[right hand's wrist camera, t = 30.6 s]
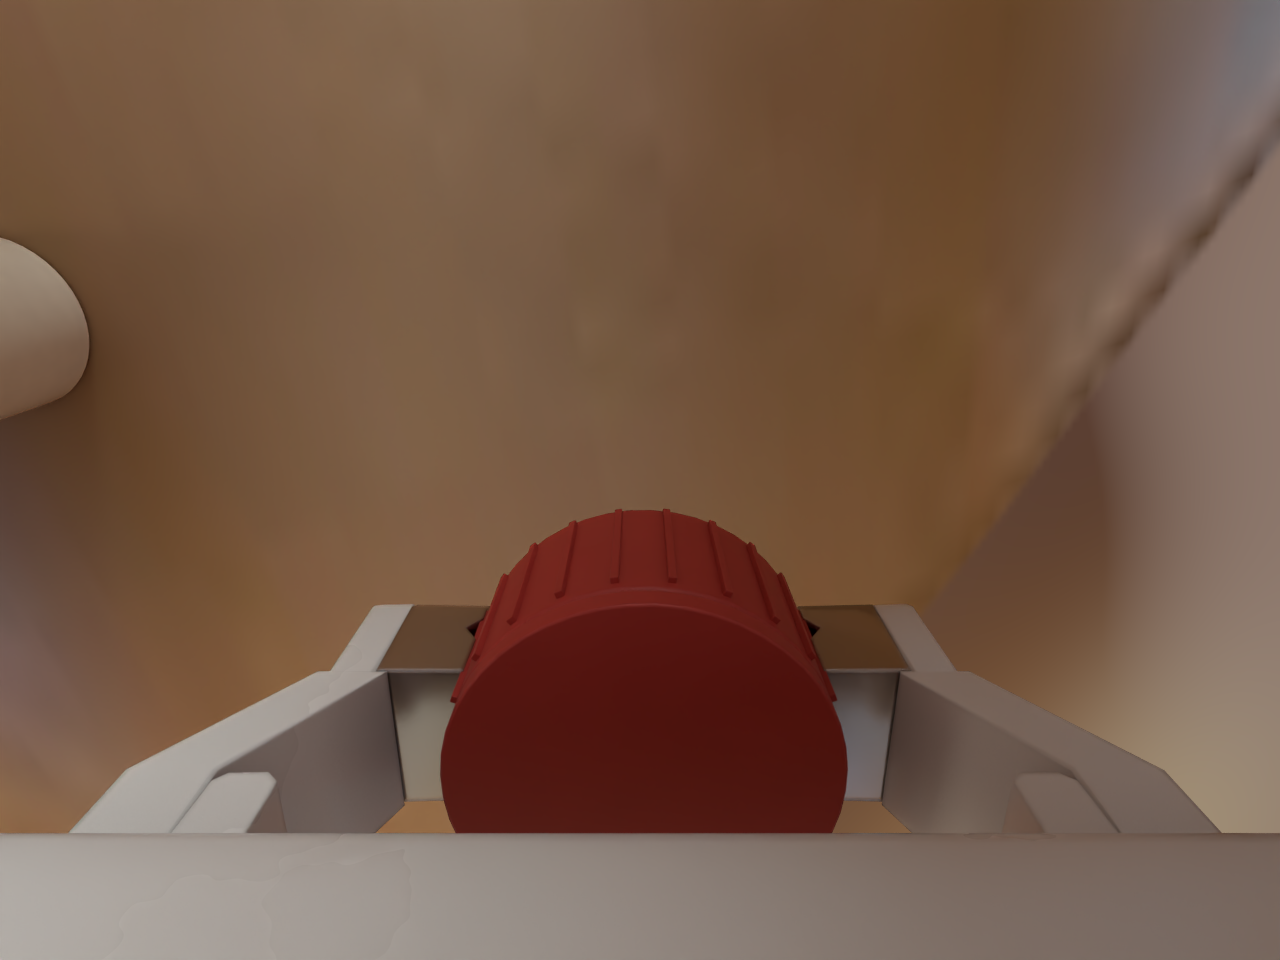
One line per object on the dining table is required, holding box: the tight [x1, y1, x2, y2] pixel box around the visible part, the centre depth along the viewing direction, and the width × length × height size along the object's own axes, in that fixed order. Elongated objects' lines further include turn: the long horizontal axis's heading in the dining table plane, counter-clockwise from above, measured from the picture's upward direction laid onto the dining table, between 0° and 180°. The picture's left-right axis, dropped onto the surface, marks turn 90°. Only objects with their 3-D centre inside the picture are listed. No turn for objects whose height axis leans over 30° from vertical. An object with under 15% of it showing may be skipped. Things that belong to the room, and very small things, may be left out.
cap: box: [440, 509, 848, 833], centre depth 9 cm, size 4×4×2 cm
